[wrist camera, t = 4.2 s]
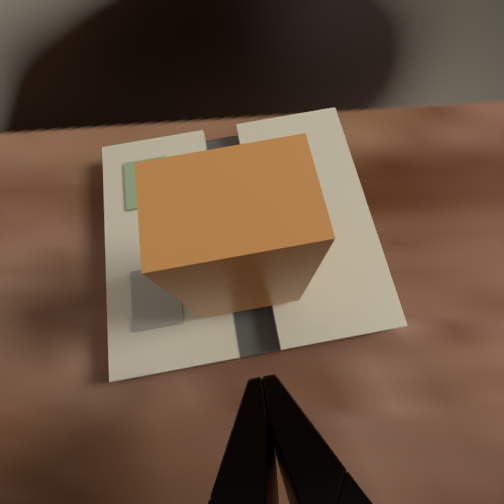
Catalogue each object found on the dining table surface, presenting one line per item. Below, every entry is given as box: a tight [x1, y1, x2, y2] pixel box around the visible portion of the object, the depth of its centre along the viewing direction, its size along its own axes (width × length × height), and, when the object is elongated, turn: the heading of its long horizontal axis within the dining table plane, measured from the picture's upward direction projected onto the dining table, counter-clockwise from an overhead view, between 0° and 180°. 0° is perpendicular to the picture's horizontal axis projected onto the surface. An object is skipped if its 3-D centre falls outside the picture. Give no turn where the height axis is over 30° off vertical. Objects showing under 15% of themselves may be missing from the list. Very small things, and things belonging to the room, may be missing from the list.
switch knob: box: [134, 133, 335, 318], centre depth 12 cm, size 3×4×9 cm, turn 100°
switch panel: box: [102, 108, 408, 382], centre depth 17 cm, size 13×14×2 cm
